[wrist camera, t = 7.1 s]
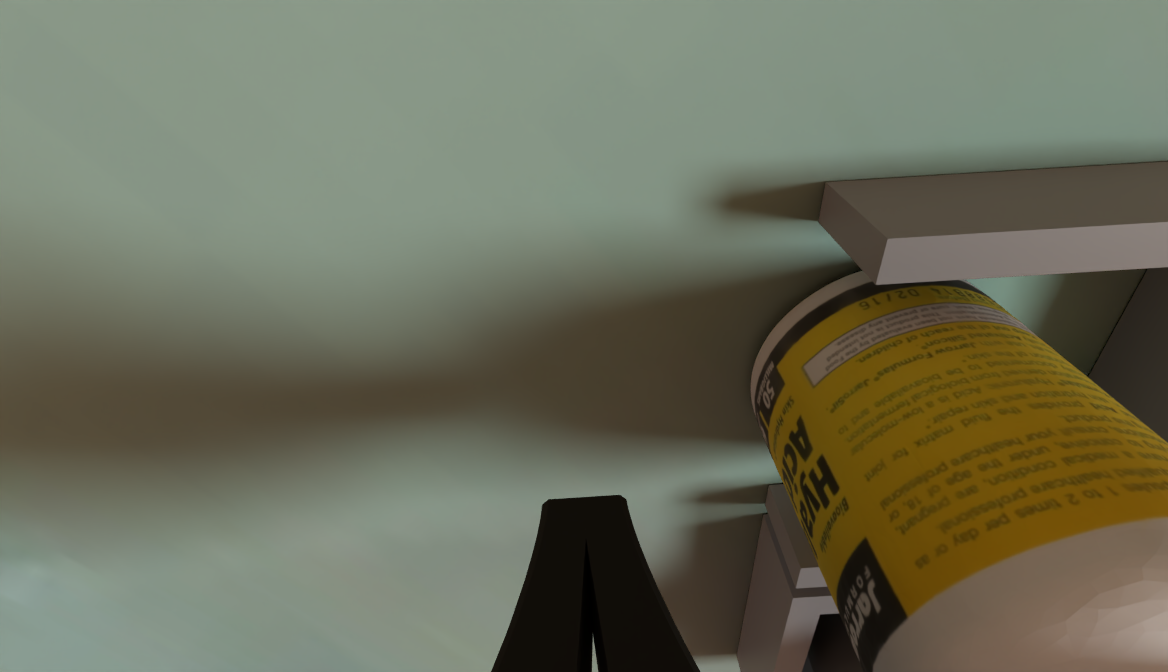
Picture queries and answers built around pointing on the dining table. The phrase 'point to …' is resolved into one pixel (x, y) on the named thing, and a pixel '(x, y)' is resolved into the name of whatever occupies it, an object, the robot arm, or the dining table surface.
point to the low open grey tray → (956, 252)
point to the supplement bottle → (965, 485)
